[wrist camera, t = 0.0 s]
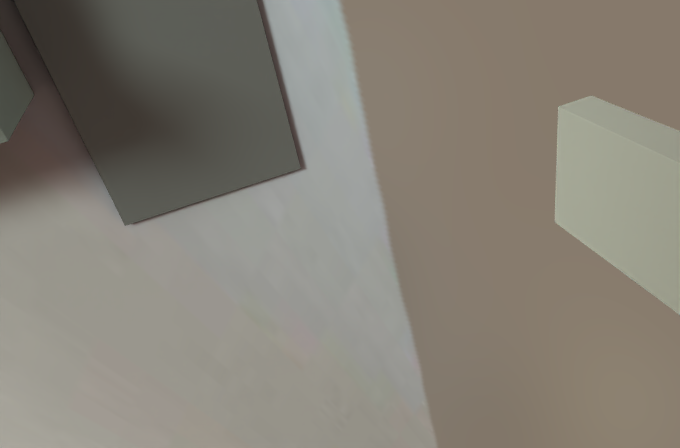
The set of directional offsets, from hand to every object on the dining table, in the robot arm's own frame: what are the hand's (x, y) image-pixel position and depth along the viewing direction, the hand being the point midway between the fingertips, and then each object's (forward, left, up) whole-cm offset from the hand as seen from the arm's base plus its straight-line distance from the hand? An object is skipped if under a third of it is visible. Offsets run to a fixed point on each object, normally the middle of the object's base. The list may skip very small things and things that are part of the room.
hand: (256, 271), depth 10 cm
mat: (+1, -1, -28) cm, 28 cm away
